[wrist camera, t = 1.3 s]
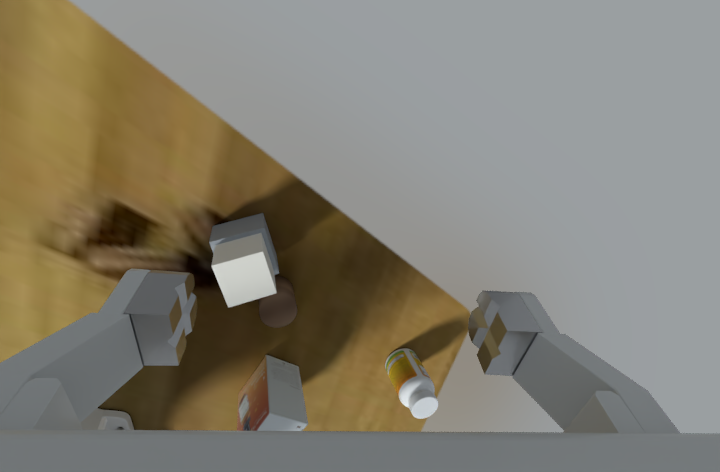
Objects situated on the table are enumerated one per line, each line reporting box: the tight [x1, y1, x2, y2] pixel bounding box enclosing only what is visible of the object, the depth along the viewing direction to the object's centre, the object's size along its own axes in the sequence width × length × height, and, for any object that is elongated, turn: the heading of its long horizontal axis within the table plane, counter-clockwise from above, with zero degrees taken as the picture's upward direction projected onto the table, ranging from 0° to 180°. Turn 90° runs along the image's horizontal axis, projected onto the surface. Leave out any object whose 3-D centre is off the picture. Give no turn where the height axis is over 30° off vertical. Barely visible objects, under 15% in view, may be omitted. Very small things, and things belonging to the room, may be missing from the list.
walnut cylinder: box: [259, 276, 297, 328], centre depth 48 cm, size 4×4×5 cm
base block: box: [209, 213, 279, 275], centre depth 45 cm, size 6×6×5 cm
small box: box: [237, 355, 308, 431], centre depth 51 cm, size 8×6×10 cm
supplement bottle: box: [385, 348, 438, 419], centre depth 57 cm, size 5×5×10 cm
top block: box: [211, 233, 277, 308], centre depth 40 cm, size 5×5×5 cm
